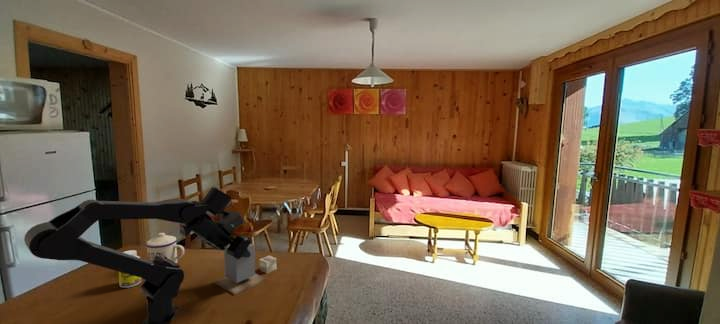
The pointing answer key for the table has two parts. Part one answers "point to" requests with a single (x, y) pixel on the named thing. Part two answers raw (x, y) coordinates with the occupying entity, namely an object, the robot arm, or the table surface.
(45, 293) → the table surface
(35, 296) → the table surface
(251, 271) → the sharp-edged grey box
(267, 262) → the letter cube
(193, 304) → the table surface
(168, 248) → the teacup with lid
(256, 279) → the light tan board
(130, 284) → the supplement bottle
